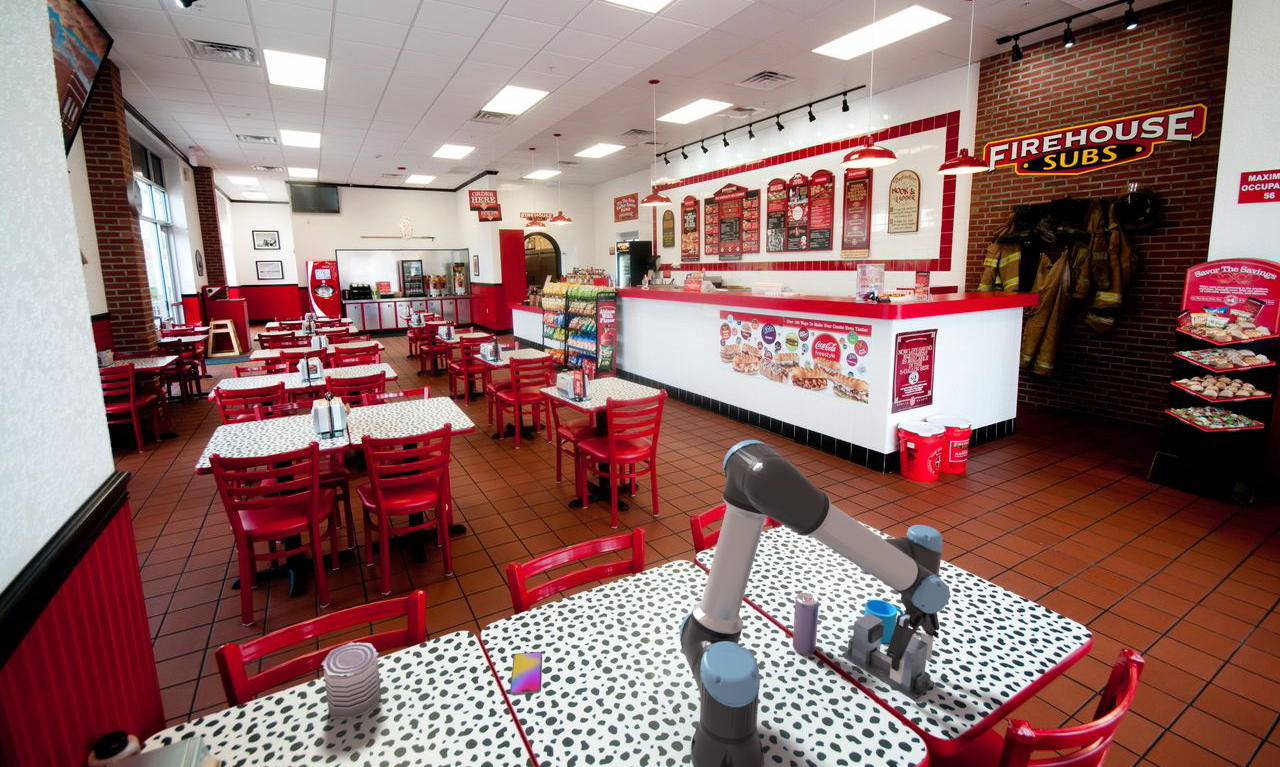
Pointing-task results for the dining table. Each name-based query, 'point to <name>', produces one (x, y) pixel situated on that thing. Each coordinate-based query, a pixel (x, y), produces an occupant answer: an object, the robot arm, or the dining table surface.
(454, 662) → the dining table surface
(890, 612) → the mug
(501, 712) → the dining table surface
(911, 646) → the stepped metal block
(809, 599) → the beverage can
